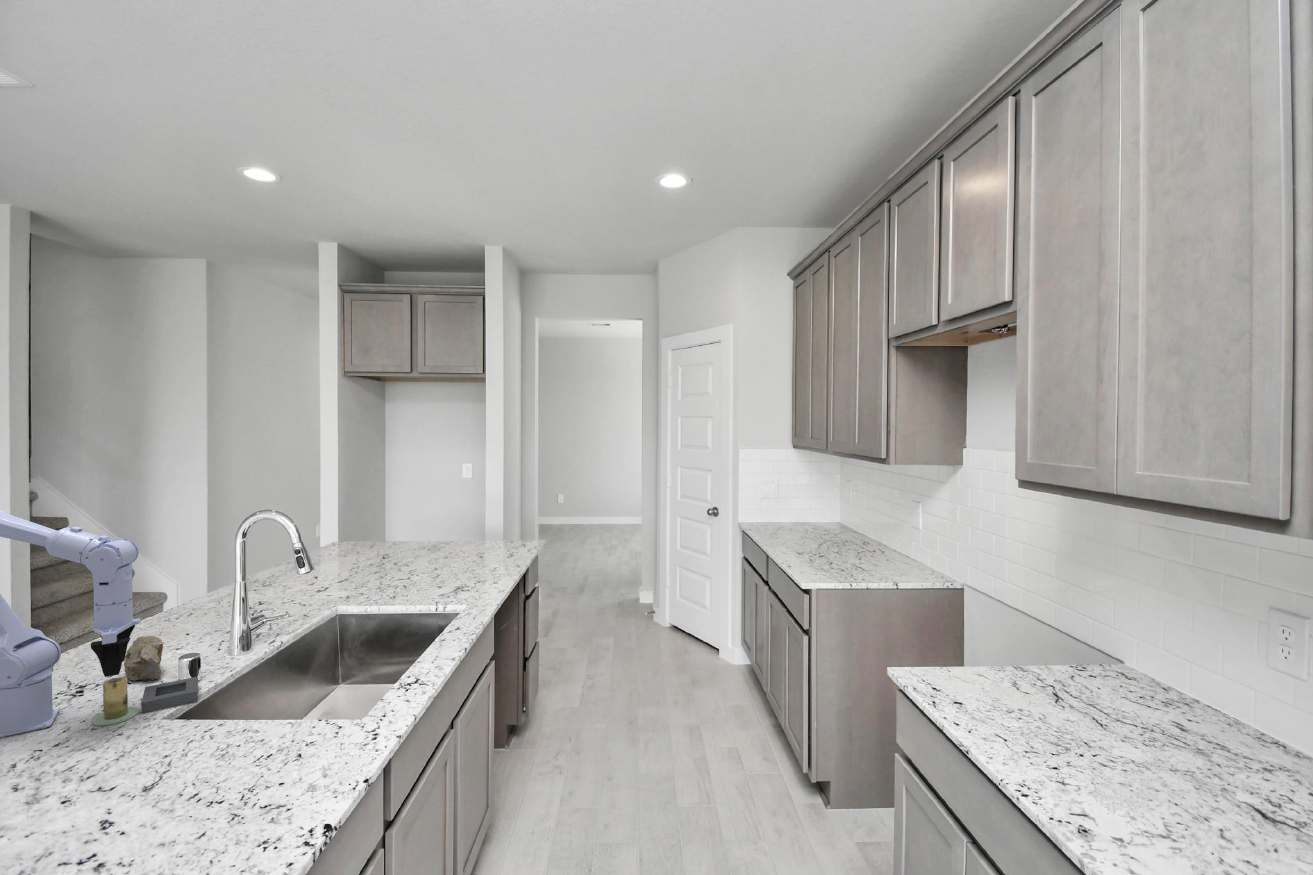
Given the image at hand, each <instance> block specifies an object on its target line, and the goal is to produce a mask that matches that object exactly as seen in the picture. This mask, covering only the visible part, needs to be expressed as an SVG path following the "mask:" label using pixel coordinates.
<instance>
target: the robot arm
mask: <svg viewBox="0 0 1313 875" xmlns="http://www.w3.org/2000/svg"><path fill="white" fill-rule="evenodd" d="M83 530H84V528H83V527H82V526H81V527H80V526H71V527H69V526H68V527H64V528H61V529H59V530H56V529H53V528H50V527H48V526H44V525H42V524H38V523H35V522H33V521H30V520H26V519H24V518H21V517H18V516H16V515H13V514H9V513H7V512H6V510H3V509H0V537H1V538H5V539H9V540H15V541H18V542H24V543H26V544H31V545H36V546H41V547H45V549H46V551H47V553H48V554H49V556H53V557H56V558H59V559H64V560H67V561H71V562H74V563H77V564H82V565H84V566H85V567H86V568H87V570H89V571H90V572H91V575H92V576H91V578H92V581H93V625H92V631H93V632H94V633H95V634H98V635H99V636H100V638H101V640H96V641H92V642H91V644H90V648H91V650H92V651H93V653H94V654H95V656H96V657H97V659H98V661H99V664H100V667H101V671H102V674H103V676H104V678H107V677H108V678H109V677H114V676H119V675H120V673H121V669H122V664H123V663H124V659H125V656H126V654H127V650H128V644H129V642H130V641H131V634H132V633H133V631H134V629H135V628H136V625H140V623H141V622H142V621H141V618H134V616H133V615H134V613H133V612H134V611H133V610H134V608H133V596H134V595H133V563H134V562H136V560H137V559H138V557H139V548H138V545H136V544H135V543H134V542H133V541H132V540H129V539H128V538H126V537H118V538H115V539H111V538H110V536H108V535H105V534H104V535H97V534H94V533H90V532H87V531H83ZM61 656H62V649H61V646H60V644H58V642H57V641H55V640H54V639H51V638H49V637H47V636H46V635H45V634H44V632H43V631H42V630H41V629H38V628H37V629H36V628H33V627H28V626H25V624H24V622H22V620H21V619H20V618H19V617H18V615H17V614H16V613H15V612H14V610H13V609H12V607H11V606H10V604H8V602H7V601H6V599H5V598H4V597H3V595H2V594H1V593H0V738H4V737H8V736H14V735H17V734H23V733H26V732H27V733H28V732H31V731H36V730H40V729H45V728H46V729H47V728H49V727H52V726H53V723H54V721H55V720H56V718H57V716H58V715H59V714H58V713H59V712H60V710H59V708H56V709H53V708H54V707H53V672H54V666H55V665H56V664H57V663H58V661H60V658H61Z"/></svg>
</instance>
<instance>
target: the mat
mask: <svg viewBox="0 0 1313 875" xmlns="http://www.w3.org/2000/svg"><path fill="white" fill-rule="evenodd" d="M139 712H140V710H139V708H138V707H135V706H128V713H127V714H126V715H125V716H123V717H120V718H117V719H112V720H105V719H104V712H103V713H100V714H98V715H96V716H95V717H94V718H92V719H91V725H92V726H94V727H105V726H106V727H107V726H113V725H117V724H121V723H124V722H127V721H129V720H131V719H133V718H135V717H136V716H137V715H138V714H139Z"/></svg>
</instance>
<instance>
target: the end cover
mask: <svg viewBox="0 0 1313 875" xmlns="http://www.w3.org/2000/svg"><path fill="white" fill-rule="evenodd" d="M102 696H103V697H102V701H103V702H102V703H103V713H104V719H105V720H112V719H117V718H120V717H123V716H125V715H126V714H127V713H128V707H129V701H128V700H129V699H128V698H129V696H128V677H127V676H120V677H119V676H118V677H115V678H110V679H108V680H107V679H106V680H105V681H103V683H102Z"/></svg>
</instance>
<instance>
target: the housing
mask: <svg viewBox="0 0 1313 875" xmlns="http://www.w3.org/2000/svg"><path fill="white" fill-rule="evenodd" d="M198 693H199V676H193V677H188V678H183V679H179V680H173V681H169V682H164V683H157V684H154V685H148V686H145V687H144V690H143V694H142V698H141V705H140V706H141V715H142V714H146V713H150V712H155V711H160V710H164V709H168V708H174V707H177V706H181V705H187V704H190V703H192V704H193V703H197V702H198V696H199V694H198Z"/></svg>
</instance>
